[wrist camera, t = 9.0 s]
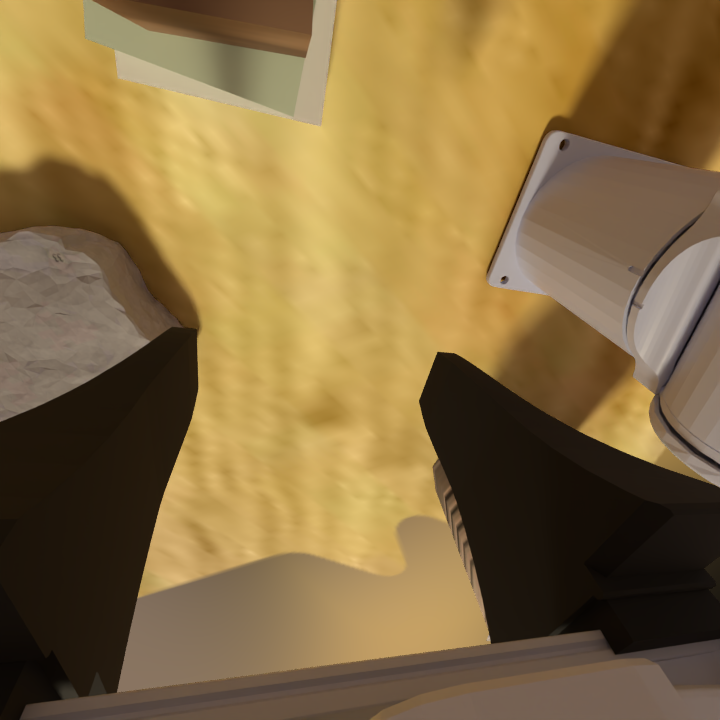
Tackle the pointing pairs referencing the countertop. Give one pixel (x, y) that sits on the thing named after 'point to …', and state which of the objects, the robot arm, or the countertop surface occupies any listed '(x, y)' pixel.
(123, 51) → the sage top block
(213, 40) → the walnut block
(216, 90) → the grey base block
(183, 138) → the countertop surface
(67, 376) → the stone block
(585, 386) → the countertop surface
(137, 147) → the countertop surface
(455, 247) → the countertop surface
